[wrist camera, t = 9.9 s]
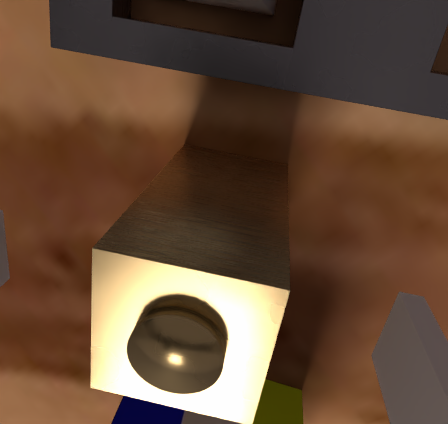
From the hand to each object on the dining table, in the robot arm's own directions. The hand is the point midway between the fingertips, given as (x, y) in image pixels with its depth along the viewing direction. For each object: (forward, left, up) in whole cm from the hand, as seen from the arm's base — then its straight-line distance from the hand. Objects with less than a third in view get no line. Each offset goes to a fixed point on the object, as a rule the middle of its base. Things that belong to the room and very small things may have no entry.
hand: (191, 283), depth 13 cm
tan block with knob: (0, 0, -7) cm, 7 cm away
